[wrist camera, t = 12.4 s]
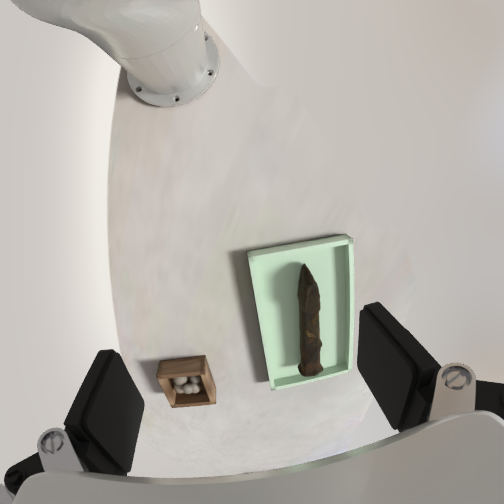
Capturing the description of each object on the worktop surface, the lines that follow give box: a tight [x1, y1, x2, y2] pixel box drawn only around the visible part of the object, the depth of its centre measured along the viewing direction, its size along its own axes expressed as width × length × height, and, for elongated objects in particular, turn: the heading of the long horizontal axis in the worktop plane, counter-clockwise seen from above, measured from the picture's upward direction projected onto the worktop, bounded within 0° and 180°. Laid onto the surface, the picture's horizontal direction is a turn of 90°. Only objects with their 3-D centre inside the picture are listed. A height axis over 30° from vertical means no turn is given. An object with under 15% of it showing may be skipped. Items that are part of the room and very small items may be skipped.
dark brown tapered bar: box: [297, 263, 323, 377], centre depth 42 cm, size 19×4×5 cm, turn 5°
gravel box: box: [156, 355, 216, 408], centre depth 44 cm, size 8×8×4 cm
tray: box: [247, 234, 354, 390], centre depth 43 cm, size 25×15×2 cm, turn 9°
